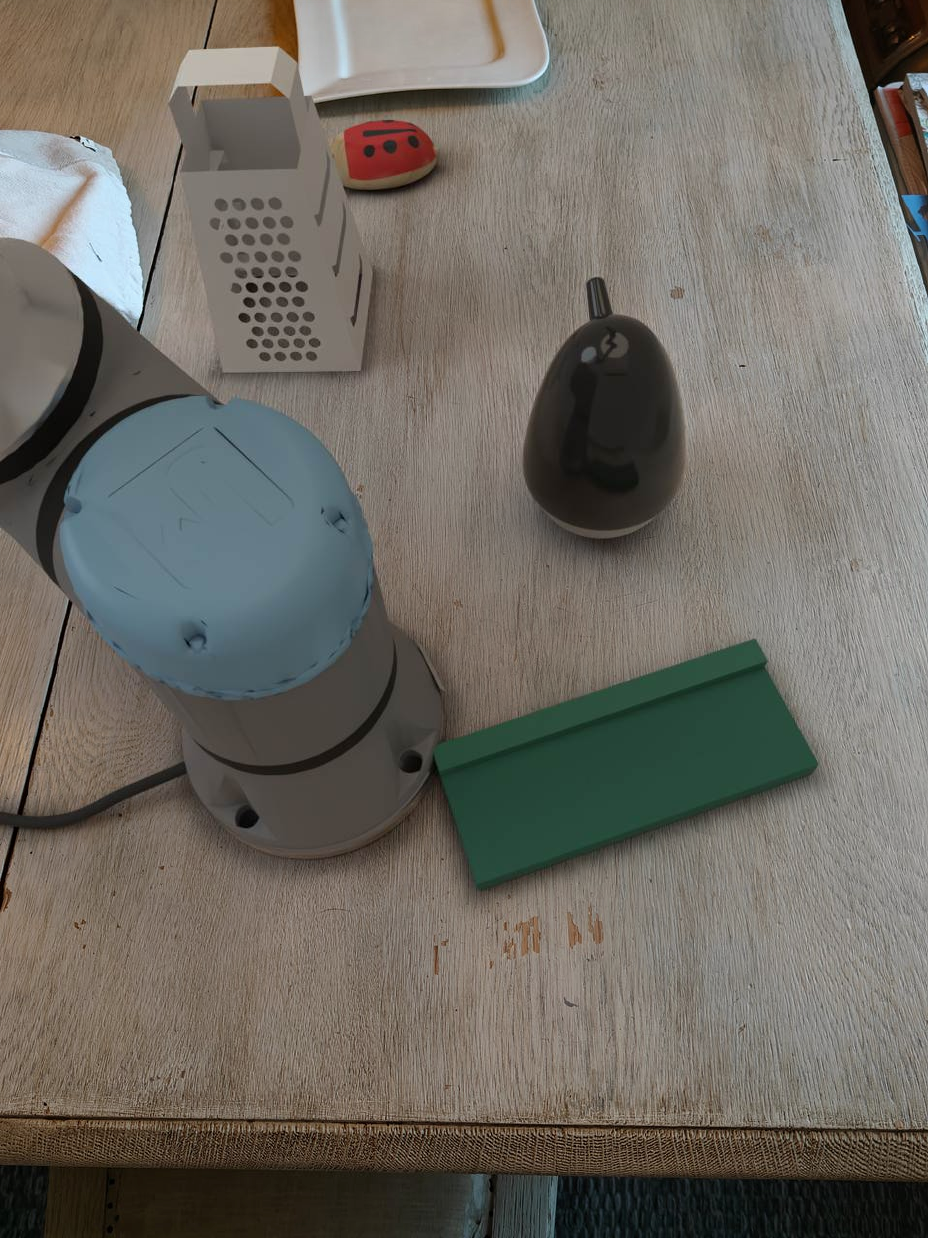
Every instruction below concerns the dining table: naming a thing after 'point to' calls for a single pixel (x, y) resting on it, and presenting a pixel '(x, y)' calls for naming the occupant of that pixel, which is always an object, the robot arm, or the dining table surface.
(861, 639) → the dining table surface
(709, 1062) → the dining table surface
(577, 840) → the green ledged plate
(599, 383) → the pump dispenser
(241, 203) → the grater
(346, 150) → the ladybug figurine
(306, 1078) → the dining table surface
